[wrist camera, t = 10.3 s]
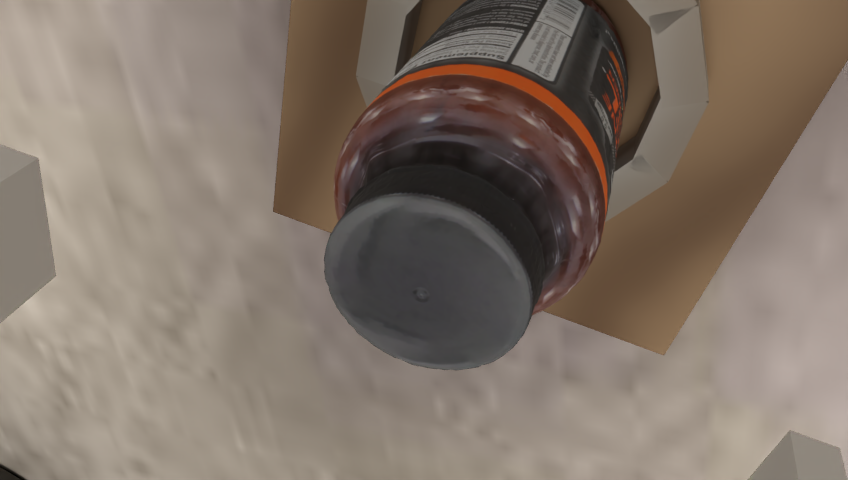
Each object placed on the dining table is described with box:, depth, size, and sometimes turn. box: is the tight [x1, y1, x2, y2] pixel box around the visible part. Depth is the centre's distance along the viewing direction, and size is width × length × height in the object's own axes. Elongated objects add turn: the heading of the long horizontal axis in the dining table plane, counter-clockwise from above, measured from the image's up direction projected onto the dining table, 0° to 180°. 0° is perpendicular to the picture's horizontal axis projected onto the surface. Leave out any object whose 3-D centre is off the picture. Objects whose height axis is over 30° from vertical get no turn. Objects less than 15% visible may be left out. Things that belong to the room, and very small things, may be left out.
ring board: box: [273, 0, 848, 355], centre depth 21 cm, size 16×18×3 cm
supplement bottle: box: [324, 0, 628, 370], centre depth 17 cm, size 6×6×11 cm
